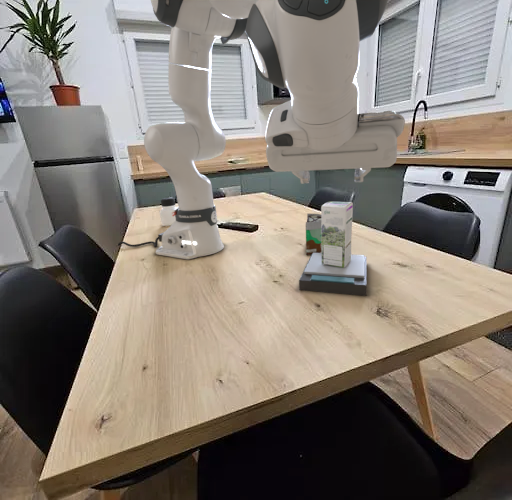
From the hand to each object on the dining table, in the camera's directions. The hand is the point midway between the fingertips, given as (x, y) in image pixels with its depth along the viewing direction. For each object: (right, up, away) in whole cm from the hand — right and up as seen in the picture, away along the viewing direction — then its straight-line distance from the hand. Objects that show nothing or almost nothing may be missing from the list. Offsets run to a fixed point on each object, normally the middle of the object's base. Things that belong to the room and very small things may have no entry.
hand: (331, 179), depth 54 cm
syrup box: (+6, -16, +18) cm, 25 cm away
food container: (+5, -13, +37) cm, 39 cm away
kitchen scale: (+5, -19, +17) cm, 26 cm away
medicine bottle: (-53, -1, +84) cm, 99 cm away
